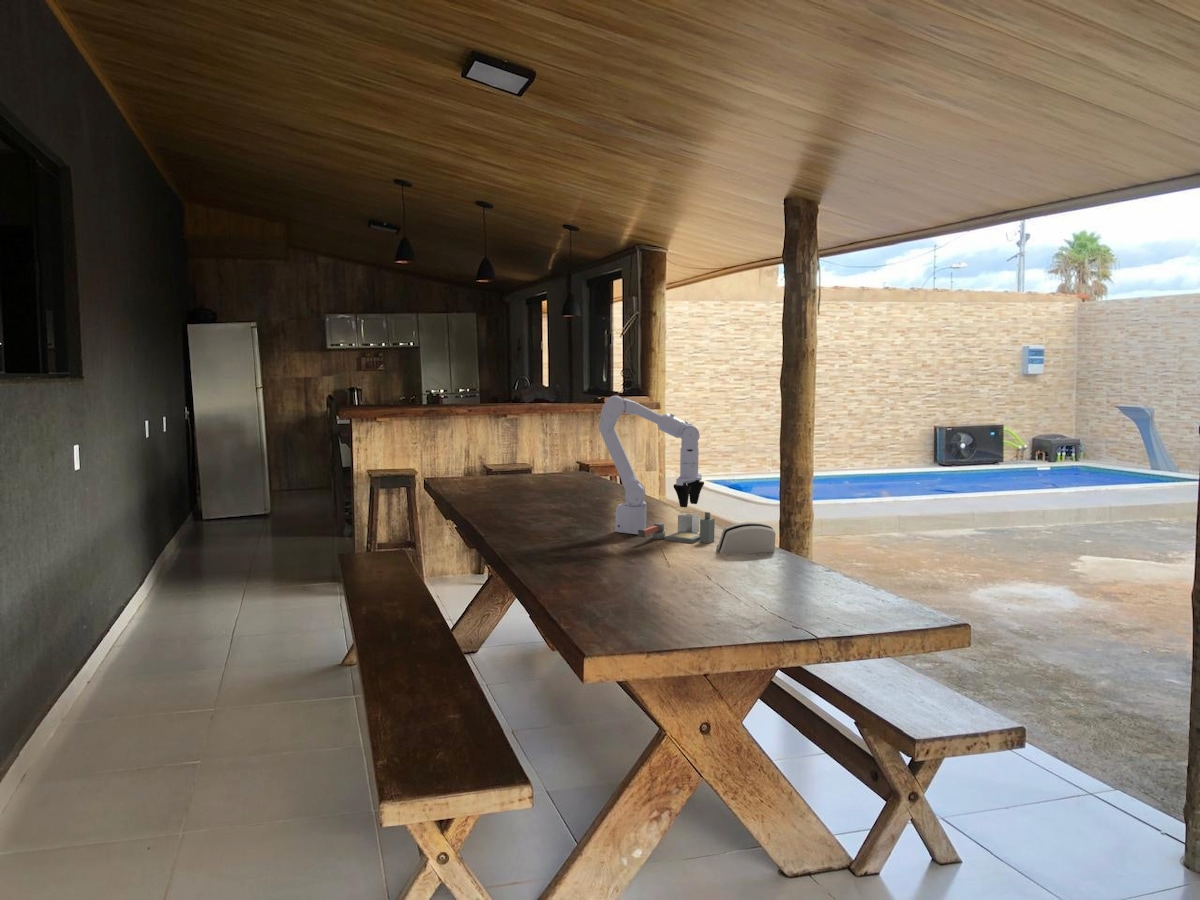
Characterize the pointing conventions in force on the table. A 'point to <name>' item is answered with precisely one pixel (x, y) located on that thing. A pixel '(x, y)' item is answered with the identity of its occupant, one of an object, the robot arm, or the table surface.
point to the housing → (688, 523)
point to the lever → (651, 529)
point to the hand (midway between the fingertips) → (688, 505)
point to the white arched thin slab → (747, 538)
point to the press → (704, 536)
